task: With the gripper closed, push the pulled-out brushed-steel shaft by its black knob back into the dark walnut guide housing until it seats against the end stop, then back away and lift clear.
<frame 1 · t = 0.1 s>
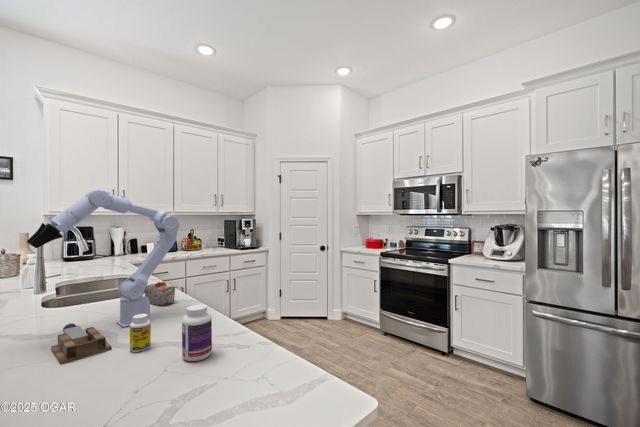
hand: (31, 245, 94), 32 cm above the counter, tool tilted 50°, fingers open, 7 cm apart
housing: (81, 349, 92), on the counter
food item: (159, 303, 139), on the counter
pill bottle: (197, 356, 88), on the counter
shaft: (74, 334, 98), point 2 cm above the counter, slide at 7.0 cm
supplement bottle: (140, 349, 93), on the counter
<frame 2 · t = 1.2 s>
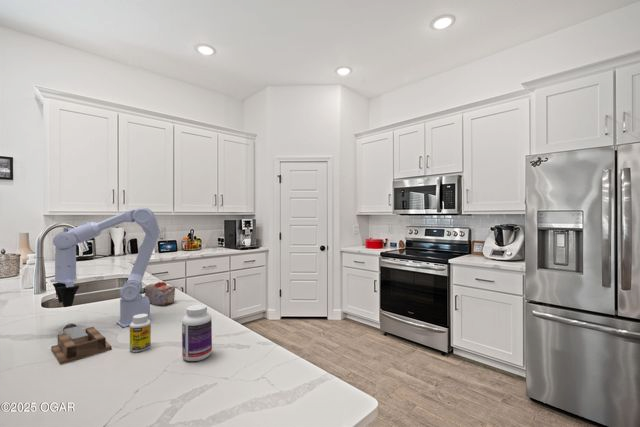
hand: (65, 304, 106), 10 cm above the counter, tool pointing down, fingers open, 7 cm apart
nothing on the counter moved.
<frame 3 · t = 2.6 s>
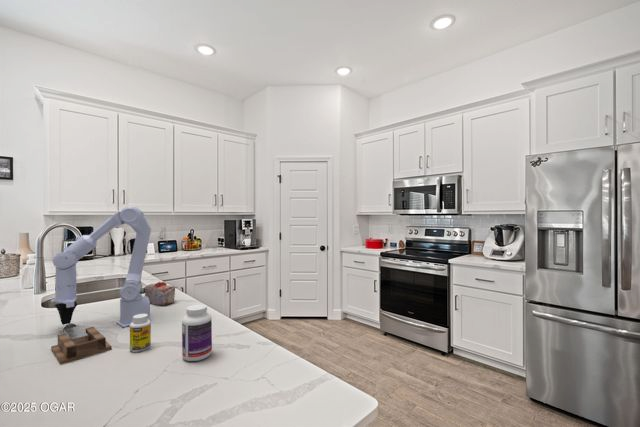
hand: (66, 323, 106), 3 cm above the counter, tool pointing down, fingers closed
nothing on the counter moved.
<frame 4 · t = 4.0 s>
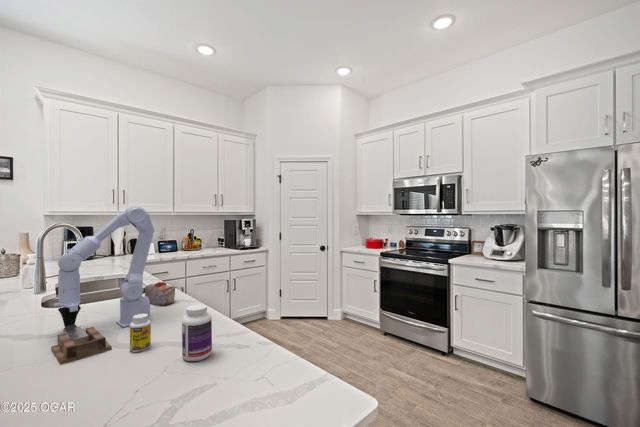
hand: (69, 328, 103), 2 cm above the counter, tool pointing down, fingers closed
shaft: (75, 335, 97), point 2 cm above the counter, slide at 6.3 cm, touching gripper
everything else where it was.
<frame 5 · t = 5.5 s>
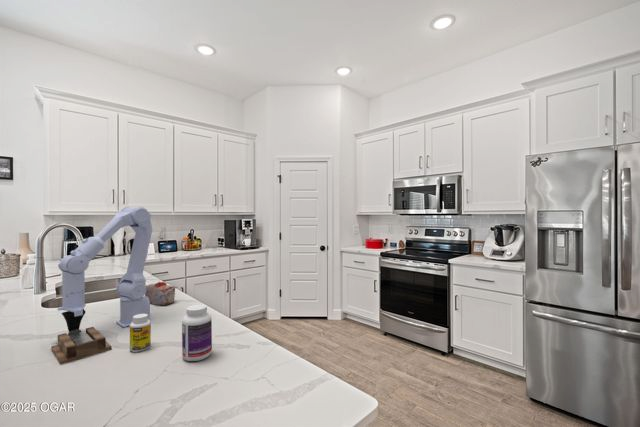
hand: (73, 333, 99), 2 cm above the counter, tool pointing down, fingers closed
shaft: (80, 340, 93), point 2 cm above the counter, slide at 0.0 cm, touching gripper
everything else where it was.
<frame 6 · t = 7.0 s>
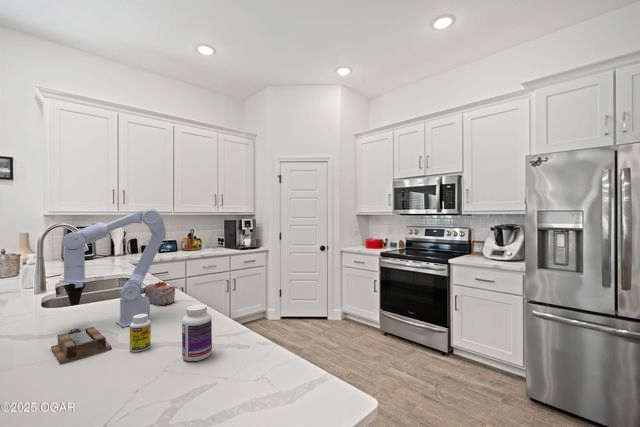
hand: (74, 304, 106), 9 cm above the counter, tool pointing down, fingers closed
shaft: (80, 340, 93), point 2 cm above the counter, slide at 0.0 cm
everything else where it was.
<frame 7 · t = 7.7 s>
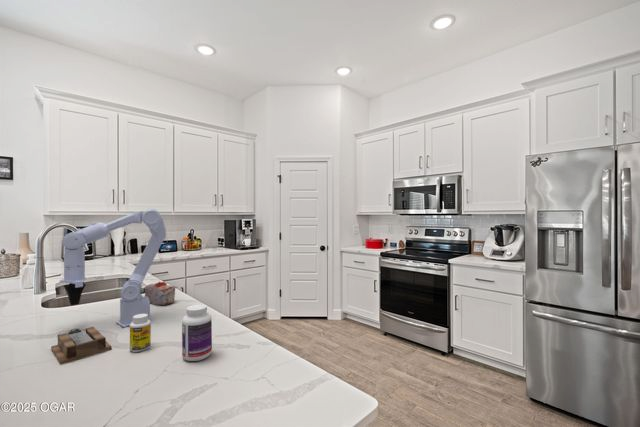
hand: (74, 304, 106), 9 cm above the counter, tool pointing down, fingers closed
nothing on the counter moved.
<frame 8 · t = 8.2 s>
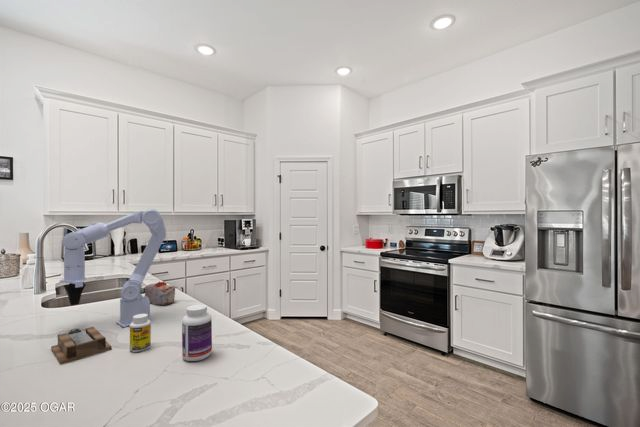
hand: (74, 304, 106), 9 cm above the counter, tool pointing down, fingers closed
nothing on the counter moved.
at the end: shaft slide at 0.0 cm; supplement bottle moved 0.2 cm from its start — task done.
